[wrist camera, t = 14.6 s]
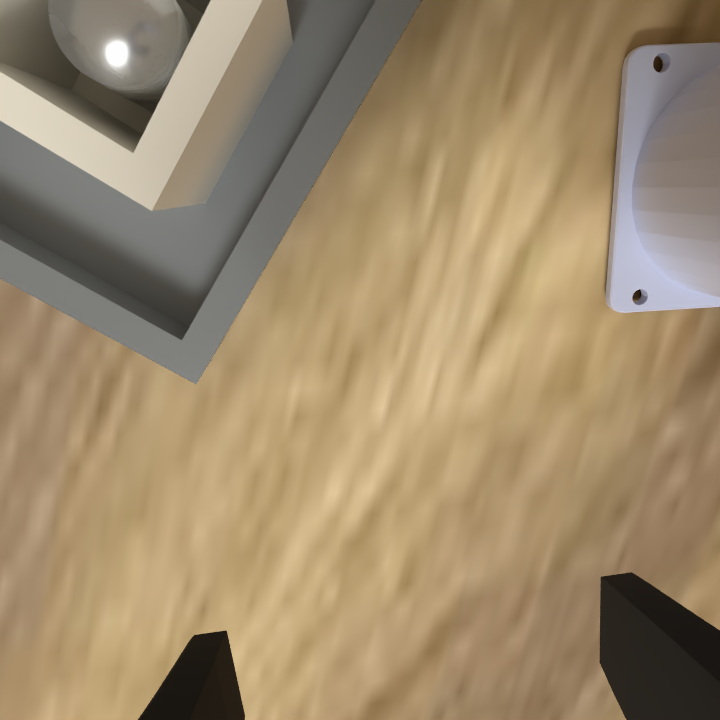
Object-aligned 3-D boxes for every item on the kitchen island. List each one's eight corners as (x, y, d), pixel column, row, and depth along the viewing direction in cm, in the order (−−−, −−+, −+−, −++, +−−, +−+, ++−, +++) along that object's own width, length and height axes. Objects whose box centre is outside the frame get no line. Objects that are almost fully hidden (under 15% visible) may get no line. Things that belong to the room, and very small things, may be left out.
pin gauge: (215, 30, 16) (182, -40, 11) (208, 124, 16) (174, 96, 12) (123, 13, 16) (48, -67, 11) (120, 109, 16) (47, 74, 11)
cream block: (122, -77, 15) (8, -235, 10) (292, 42, 16) (281, -35, 11) (39, 102, 16) (-108, 56, 11) (205, 203, 18) (152, 210, 12)
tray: (116, -293, 14) (89, -358, 13) (443, -36, 17) (457, -62, 15) (-96, 200, 17) (-141, 202, 16) (207, 366, 19) (196, 384, 18)
